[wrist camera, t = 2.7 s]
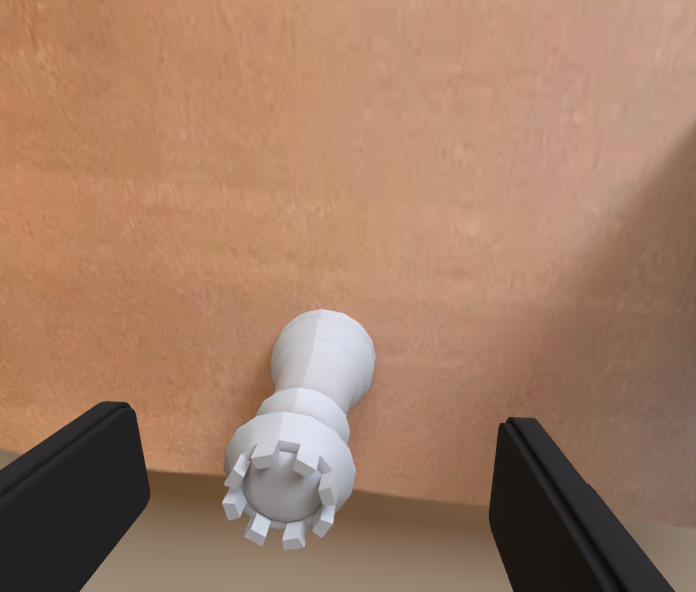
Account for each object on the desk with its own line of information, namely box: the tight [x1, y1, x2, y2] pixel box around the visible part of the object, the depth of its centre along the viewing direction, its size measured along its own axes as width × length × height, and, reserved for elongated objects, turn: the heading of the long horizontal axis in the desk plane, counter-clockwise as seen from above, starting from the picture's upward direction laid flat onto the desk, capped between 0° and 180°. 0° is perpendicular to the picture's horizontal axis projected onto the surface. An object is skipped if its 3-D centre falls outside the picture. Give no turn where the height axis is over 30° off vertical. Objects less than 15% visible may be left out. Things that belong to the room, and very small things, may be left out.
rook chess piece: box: [222, 309, 376, 550], centre depth 11 cm, size 4×4×8 cm
